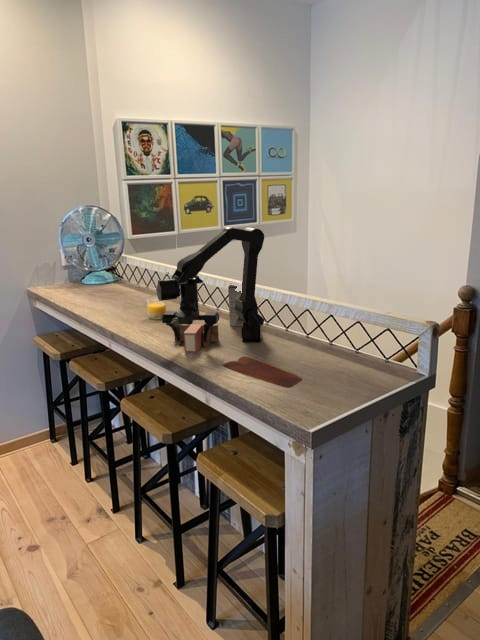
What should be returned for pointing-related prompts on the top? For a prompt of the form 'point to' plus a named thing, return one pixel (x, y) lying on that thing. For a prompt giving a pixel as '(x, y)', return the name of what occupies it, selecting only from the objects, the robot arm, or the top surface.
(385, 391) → the top surface
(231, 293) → the coffee box
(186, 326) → the wooden display stand
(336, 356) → the top surface
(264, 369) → the wooden tablet
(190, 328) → the block
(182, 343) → the bookend
